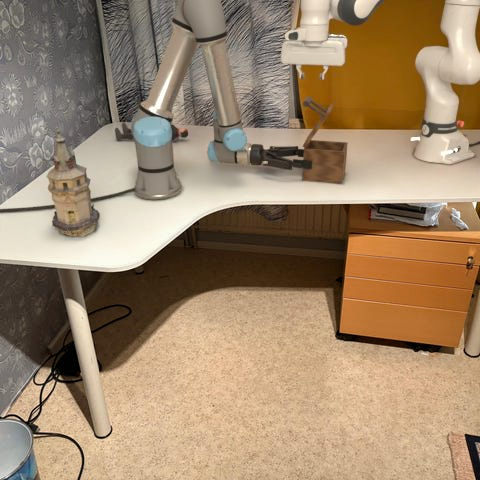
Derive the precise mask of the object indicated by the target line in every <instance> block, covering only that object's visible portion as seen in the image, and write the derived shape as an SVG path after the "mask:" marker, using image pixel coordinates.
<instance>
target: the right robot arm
mask: <svg viewBox="0 0 480 480" xmlns="http://www.w3.org/2000/svg"><path fill="white" fill-rule="evenodd" d="M384 2H386V0H300V12H301V13H300V14H301V17H300V21H299V27H295V28H293V29H290V30H288V31H286V32H285V34H284V39H285V40H284V41H283V43H282V45H281V52H280V62H281V63H282V65H295V66H296V67H295V68H296V71H297V72H298V74H299V80H305V77H306V72H303V71H302V66H303V65H304V66H323V67H322V68H323V72H320V73H319V77H318V79H319V81H324V80H325V76H326V75H325V74H326V73H327V71H328V70H329V67H330V66H331V67H342V66H344V65H345V64H346V49H347V47H348V42H349V41H348V38H347V36H346V35H344V34H343V33H329V31H330V21H331V19H333V20H336V21H339V22H343V23H345V24H348V25H349V26H361V25H363V24H365V23H366V22H367V21H368V20H369V19H370V18H371V17H372V15H373V14H374V12H375V11H376V10H377V8H378V7H379V6H381V5H382V4H383V3H384ZM479 12H480V0H445V1H444V7H443V10H442V14H441V15H442V16H441V19H440V20H441V21H440V30H441V31H440V32H442V34H443V35H445V37H446V39H447V42H448V43H447V44H448V46H447V47H446V46H441V45H430V46H424V47H423V48H422V49H420V51H419V52H418V53H417V55H416V58H415V61H414V62H415V63H414V65H415V70H416V72H417V73H418V74H419V76H420V77H421V79H422V82H423V85H424V90H425V106H424V107H425V108H424V113H423V114H424V115H423V117H422V120H421V125H420V133H419V136H417V137H411V138H410V141H417V145H416V146H415V150H414V152H413V156H414V157H415V158H416V159H418V160H420V161H424V162H428V163H434V164H435V163H436V164H442V165H443V164H444V165H453V164H456V163H459V162H462V161H465V160H468V159H472V158H474V157H475V153H474V152H473V151H472V150H471V149H470V147H473V146H477V145H479V144H480V140H478V141H477V142H475V143H470V141H469V138H468V137H467V134H464V133H462V132H461V131H459V127H460V128H463V127H464V126H465V121H464V120H463V121H462V120H461V119H460V120H457V115H458V110H459V104H460V99H459V96H458V95H457V94H456V92H455V91H454V89H453V87H452V84H455V85H459V86H469V85H475V84H477V83H478V82H479V81H480V51H479V49H478V48H479V47H478V45H477V40H476V27H477V21H478V16H479Z"/></svg>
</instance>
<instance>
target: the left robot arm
mask: <svg viewBox="0 0 480 480" xmlns="http://www.w3.org/2000/svg"><path fill="white" fill-rule="evenodd" d="M175 4H176V5H175V7H176V9H175V11H174V14H173V17H172V19H171V21H170V23H171V25H172V28H173V31H172V33H171V35H170V39H169V41H168V44H167V47H166V49H165V52H164V55H163V57H162V60H161V62H160V65H159V68H158V71H157V73H156V76H155V78H154V81H153V83H152V86H151V88H150V90H149V91H150V92H149V94H148V97H147V99H145V100H144V101H142V102H140V105H139V107H138V110H137V111H136V112H135V114H134V115H133V117H132V119H131V122H130V129H131V133H132V135H133V138H134V139H133V142H134V146H135V154H136V161H137V175H136V179H135V184H134V187H133V188H129V189H125V190H122V191H119V192H115V193H111V194H106V195H102V196H96V197H91V203H92V202H96V201H102V200H106V199H110V198H115V197H119V196H122V195H126V194H129V193H132V192H133V193H135V195H136V196H137V197H138V198H141V199H143V200H148V201H161V200H168V199H171V198H174V197H176V196H178V195H179V194H180V193H181V192H182V182H181V180H180V177H179V176H180V175H179V173H178V172H177V171H176V169H175V161H174V160H175V159H174V158H175V157H174V147H173V141H172V129H171V124H172V122H173V119H174V117H175V116H174V114H173V107H174V105H175V102H176V99H177V97H178V95H179V92H180V90H181V87H182V85H183V82H184V80H185V77H186V74H187V73H188V70H189V67H190V65H191V62H192V59H193V57H194V54H195V52H196V50H197V47H198V45H199V46H200V50H201V55H202V58H203V59H202V60H203V64H204V67H205V71H206V75H207V80H208V84H209V89H210V93H211V97H212V102H213V106H214V110H213V113H212V117H213V118H212V121H213V122H212V123H213V140H210V141H209V143H208V146H207V158H208V160H209V161H210V162H213V163H219V164H234V165H235V164H236V165H242V166H245V165H248V166H249V165H251V166H256V167H258V166H259V167H261V166H262V167H271V168H275V169H276V168H277V169H280V170H281V169H282V170H287V171H292V170H293V168H295V169H303V168H306V169H312V161H310V160H303V159H295V158H292V159H289V158H286V157H296V156H297V158H303V155H304V148H299V146H298V145H294V146H293V145H291V146H290V145H289V146H287V145H286V146H274V145H270V146H269V148H267V149H265V148H264V145H263V144H260V143H252V144H251V143H250V142H248V137H247V133H246V132H245V130H244V128H243V124H242V119H241V113H240V109H239V103H238V98H237V93H236V88H235V84H234V78H233V72H232V68H231V64H230V63H231V62H230V59H229V58H230V57H229V54H228V49H227V43H226V40H227V38H228V32H227V24H226V19H225V13H224V7H223V4H222V0H176V3H175ZM48 209H55V205H54V204H48V205H37V206H27V207H11V208H0V213H11V212H26V211H27V212H28V211H39V210H48Z"/></svg>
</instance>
